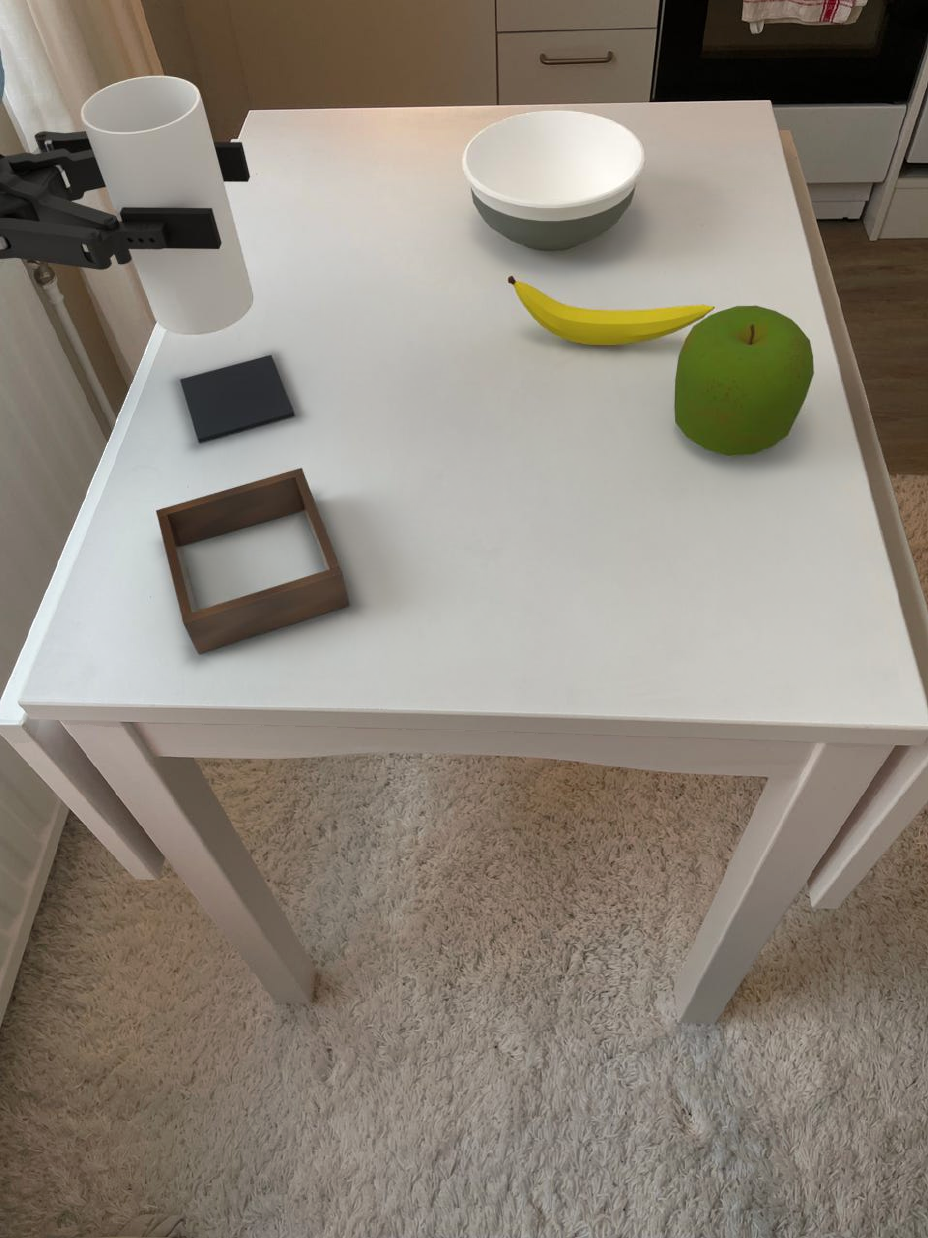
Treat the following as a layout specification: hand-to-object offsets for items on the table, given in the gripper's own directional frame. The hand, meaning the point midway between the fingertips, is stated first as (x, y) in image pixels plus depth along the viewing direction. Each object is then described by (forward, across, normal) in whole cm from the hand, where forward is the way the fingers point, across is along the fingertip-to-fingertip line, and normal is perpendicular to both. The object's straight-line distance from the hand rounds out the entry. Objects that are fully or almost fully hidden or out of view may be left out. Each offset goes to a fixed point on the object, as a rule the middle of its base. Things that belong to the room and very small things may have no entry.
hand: (230, 194), depth 70 cm
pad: (-6, -2, -22) cm, 23 cm away
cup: (-5, 0, -10) cm, 11 cm away
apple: (+40, -1, -22) cm, 45 cm away
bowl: (+23, -31, -22) cm, 44 cm away
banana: (+29, -12, -22) cm, 38 cm away
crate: (+1, +18, -22) cm, 28 cm away
